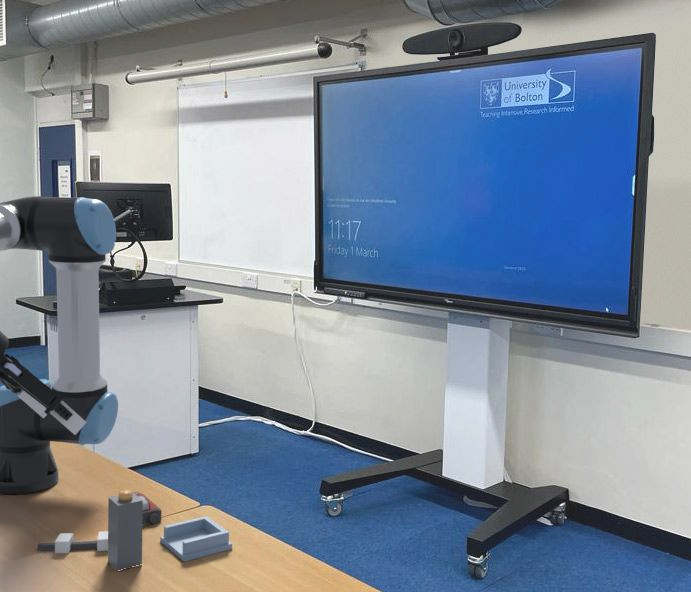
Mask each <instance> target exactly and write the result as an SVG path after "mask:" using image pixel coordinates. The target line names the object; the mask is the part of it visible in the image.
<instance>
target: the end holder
mask: <svg viewBox="0 0 691 592" xmlns="http://www.w3.org/2000/svg"><path fill="white" fill-rule="evenodd" d="M159 539H160V541H159V542H160V543H161V544H162V545H163V544H164V545H163V546H164V547H166V549H168V550H169V551H170V552H171V553H173V555H175V556H176V557H177V558H178V559H180V560H181V561H182V562H185V563H186V562H189V561H192V560H195V559H199V558H203V557H206V556H211V555H214V554H217V553H221V552H225V551H229V550H232V549H233V543H232V542H231V541H230V532H229V531H228V530H227V529H225V528H224V527H222V526H221V525H220V524H218V523H217V522H216V521H214V520H213V519H212V518H210V517H209V516H207V515H206V516H202V517H197V518H192V519H188V520H184V521H181V522H176V523H172V524H167V525H164V526H163V535H161V536H159Z"/></svg>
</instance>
